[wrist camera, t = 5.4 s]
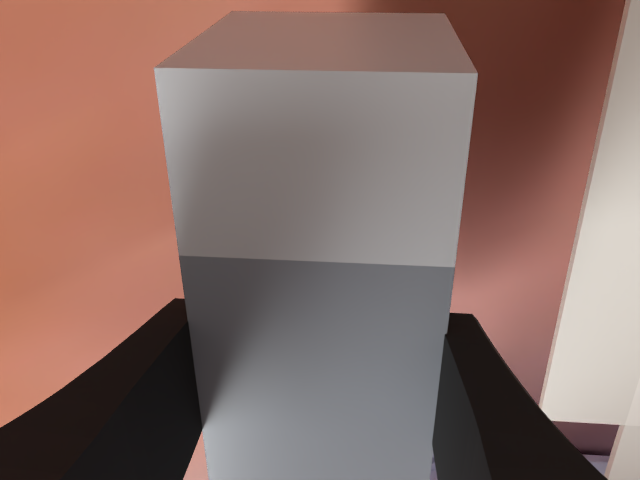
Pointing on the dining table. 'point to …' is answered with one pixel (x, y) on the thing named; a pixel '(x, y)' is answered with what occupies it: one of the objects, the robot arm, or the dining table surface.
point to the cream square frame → (606, 275)
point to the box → (318, 234)
